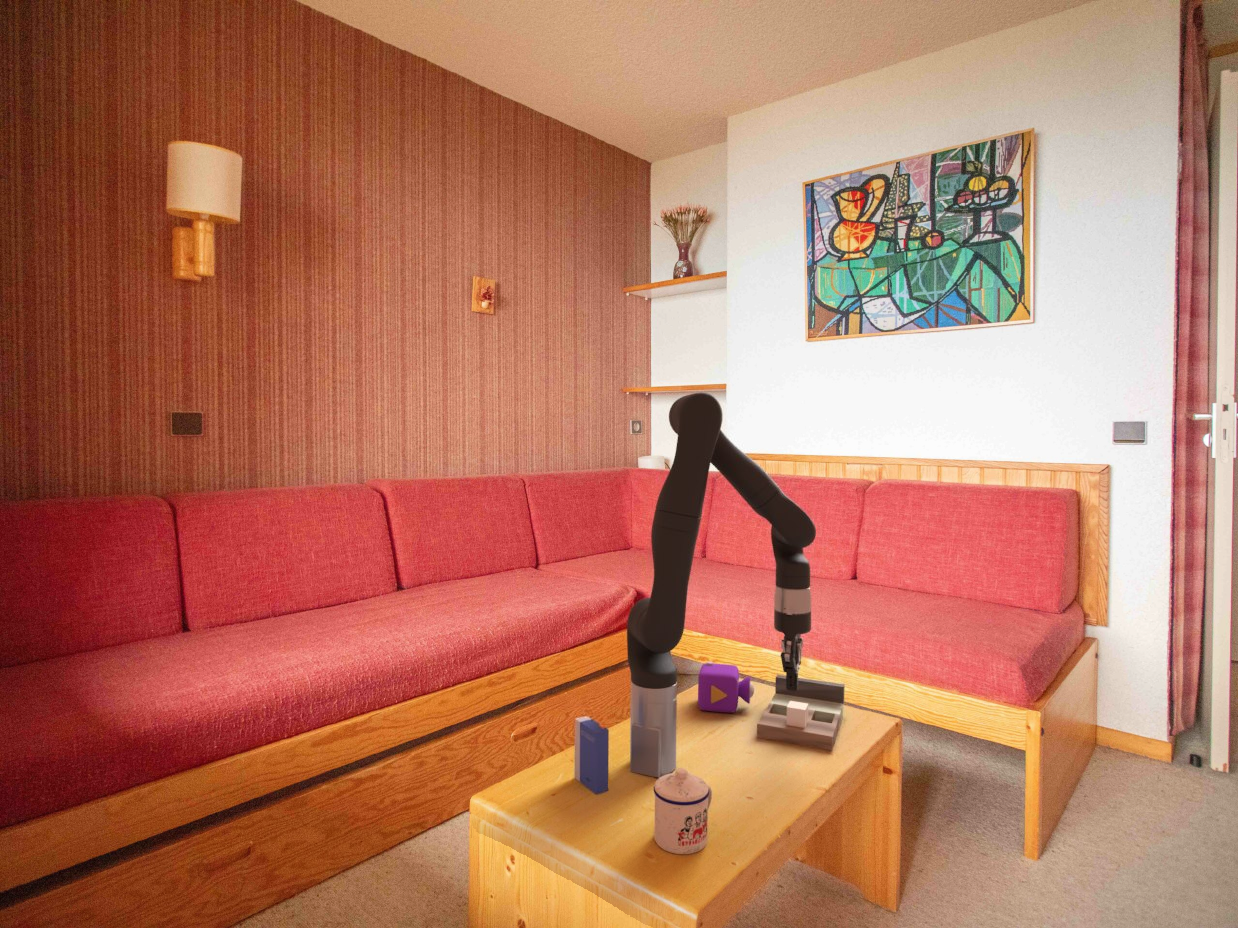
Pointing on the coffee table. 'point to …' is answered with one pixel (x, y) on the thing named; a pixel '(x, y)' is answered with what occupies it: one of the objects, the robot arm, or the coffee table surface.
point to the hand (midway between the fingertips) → (792, 689)
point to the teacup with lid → (681, 812)
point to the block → (797, 714)
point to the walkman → (591, 754)
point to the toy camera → (722, 688)
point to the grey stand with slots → (821, 713)
